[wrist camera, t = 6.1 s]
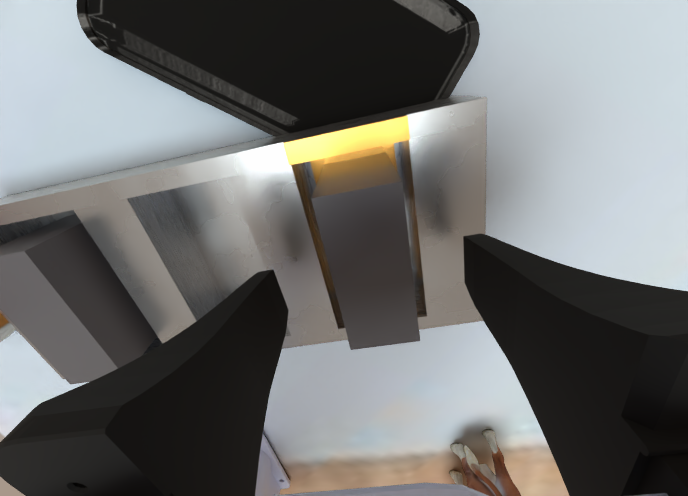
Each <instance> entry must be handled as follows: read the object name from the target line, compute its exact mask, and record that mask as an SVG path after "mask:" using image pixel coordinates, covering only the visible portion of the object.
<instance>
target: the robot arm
mask: <svg viewBox="0 0 688 496" xmlns="http://www.w3.org/2000/svg"><path fill="white" fill-rule="evenodd" d="M463 245H464V281H465V285H466V287H467V290H468V292H469V295H470V297H471V299H472V301H473V303H474V305H475V307H476V309H477V310H478V312H479V314H480V315H481V317H482V319H483V320H484V322H485V323H486V325H487V327H488V328H489V330H490V331H491V333H492V335H493V336H494V338H495V339H496V341H497V343H498V344H499V346H500V347H501V349H502V351H503V352H504V354H505V355H506V357H507V359H508V361H509V362H510V364H511V366H512V368H513V370H514V372H515V374H516V376H517V378H518V380H519V382H520V384H521V386H522V388H523V390H524V392H525V394H526V397H527V399H528V401H529V403H530V405H531V407H532V410H533V412H534V414H535V416H536V418H537V420H538V423H539V425H540V427H541V429H542V431H543V434H544V436H545V438H546V441H547V443H548V445H549V448H550V450H551V452H552V454H553V457H554V459H555V461H556V464H557V466H558V468H559V471H560V473H561V476H562V478H563V481H564V483H565V485H566V488H567V490H568V493H569V495H570V496H688V291H681V290H674V289H668V288H662V287H656V286H650V285H645V284H640V283H635V282H630V281H625V280H620V279H615V278H611V277H607V276H602V275H598V274H595V273H591V272H587V271H584V270H580V269H576V268H573V267H569V266H566V265H563V264H560V263H557V262H554V261H551V260H548V259H545V258H543V257H540V256H537V255H535V254H532V253H529V252H527V251H524V250H522V249H519V248H517V247H514V246H512V245H510V244H507V243H505V242H502V241H500V240H498V239H495V238H493V237H490V236H488V235H485V234H481V233H480V234H474V235H468V236H463ZM288 312H289V310H288V307H287V304H286V302H285V299H284V296H283V294H282V291H281V288H280V286H279V283H278V280H277V278H276V275H275V272H274V270H273V269H272V270H266V271H260V272H257V273H256V274H254V275H253V276H252V277H250V278H249V279H248V280H247V281H246V282H244V283H243V284H242V285H241V286H240V287H238V288H237V289H236V290H235V291H234V292H232V293H231V294H230V295H229V296H228V297H227V298H225V299H224V300H223V301H222V302H221V303H219V304H218V305H217V306H215V307H214V308H213V309H212V310H210V311H209V312H208V313H207V314H205V315H204V316H203V317H202V318H200V319H199V320H198V321H196V322H195V323H193V324H192V325H191V326H189V327H188V328H186V329H185V330H183V331H182V332H180V333H179V334H177V335H176V336H174V337H173V338H171V339H170V340H168V341H166V342H165V343H163V344H161V345H160V346H158V347H156V348H154V349H153V350H151V351H149V352H148V353H146V354H144V355H142V356H141V357H139V358H137V359H135V360H133V361H132V362H130V363H128V364H126V365H124V366H122V367H120V368H118V369H116V370H114V371H112V372H110V373H108V374H106V375H104V376H102V377H100V378H98V379H95V380H93V381H91V382H89V383H87V384H84V385H82V386H80V387H77V388H75V389H73V390H70V391H68V392H66V393H64V394H61V395H59V396H57V397H54V398H52V399H50V400H47V401H45V402H42V403H41V404H39V405H38V406H37V407H36V408H34V409H33V410H32V411H31V412H30V413H29V414H28V415H27V416H26V417H25V418H24V419H23V420H22V421H21V422H20V423H19V424H18V425H17V426H16V427H15V428H14V429H13V430H12V431H11V432H10V433H9V434H8V435H7V436H6V437H5V438H4V439H3V440H2V441H1V442H0V477H2V478H3V479H4V480H5V481H6V482H7V483H9V484H10V485H12V486H13V487H14V488H16V489H17V490H18V491H20V492H21V493H23V494H24V495H26V496H488V495H486V494H484V493H481V492H479V491H476V490H474V489H471V488H469V487H466V486H464V485H458V484H439V483H417V484H405V485H393V486H381V487H369V488H357V489H345V490H333V491H321V492H309V493H297V494H285V495H279V494H280V489H286V488H289V487H290V480H289V478H288V477H287V475H286V473H285V471H284V470H283V468H282V466H281V464H280V462H279V461H278V459H277V457H276V455H275V454H274V452H273V450H272V448H271V446H270V445H269V443H268V441H267V439H266V437H265V436H264V434H263V428H264V422H265V416H266V410H267V404H268V398H269V394H270V389H271V385H272V381H273V378H274V374H275V371H276V367H277V364H278V360H279V357H280V353H281V349H282V346H283V342H284V338H285V334H286V329H287V321H288Z"/></svg>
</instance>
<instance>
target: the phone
mask: <svg viewBox="0 0 688 496" xmlns="http://www.w3.org/2000/svg"><path fill="white" fill-rule="evenodd" d="M77 15H78V19H79V22H80V25H81V28H82V29H83V31H84V33H85V34H86V36H87V38H88V39H89V40H90V41H91V42H92V43H93V44H94V45H95V46H96V47H97V48H99V49H100V50H102V51H103V52H105V53H107V54H109V55H111V56H113V57H115V58H117V59H119V60H121V61H123V62H125V63H127V64H129V65H131V66H133V67H135V68H137V69H139V70H141V71H143V72H145V73H147V74H149V75H151V76H153V77H155V78H157V79H159V80H161V81H163V82H165V83H167V84H169V85H171V86H173V87H175V88H177V89H179V90H182V91H184V92H186V94H188V95H190V96H192V97H194V98H196V99H198V100H200V101H202V102H206V103H208V104H210V105H212V106H214V107H216V108H218V109H220V110H222V111H224V112H226V113H228V114H230V115H232V116H234V117H236V118H238V119H240V120H242V121H244V122H246V123H248V124H250V125H252V126H254V127H256V128H258V129H260V130H262V131H264V132H266V133H268V134H271V135H273V136H275V137H277V136H281V135H285V134H289V133H294V132H298V131H303V130H307V129H311V128H316V127H320V126H325V125H329V124H334V123H338V122H342V121H347V120H351V119H356V118H360V117H365V116H369V115H374V114H378V113H382V112H387V111H391V110H396V109H400V108H405V107H409V106H413V105H418V104H422V103H427V102H431V101H436V100H441V99H446V98H449V96H450V95H451V93H452V91H453V90H454V88H455V86H456V84H457V83H458V81H459V79H460V78H461V76H462V74H463V72H464V71H465V69H466V67H467V66H468V64H469V62H470V60H471V59H472V57H473V55H474V53H475V51H476V48H477V46H478V41H479V35H480V33H479V24H478V21H477V19H476V17H475V15H474V13H473V12H472V11H471V10H470V9H469V8H467V7H466V6H464V5H463V4H461V3H460V2H459V1H457V0H77Z"/></svg>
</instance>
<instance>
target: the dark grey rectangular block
mask: <svg viewBox="0 0 688 496" xmlns="http://www.w3.org/2000/svg"><path fill="white" fill-rule="evenodd" d="M0 310H1V311H2V312H3V313H4V314H5V315H6V316H7V318H8V319H9V320H10V321H11V322H12V323H13V324H14V325H15V326H16V327H17V328H18V329H19V330H20V331H21V332H22V333H23V335H24V336H25V337H26V338H27V339H28V340H29V341H30V342H31V343H32V344H33V345H34V346H35V347H36V348H37V349H38V350H39V352H40V353H41V354H42V355H43V356H44V357H45V358H46V359H47V360H48V361H49V362H50V363H51V364H52V365H53V366H54V367H55V368H56V370H57V371H58V372H59V373H60V374H61V375H62V376H63V377H64V378H65V379H66V380H67V381H68V382H69V383H70V384H76V383H84V382H91V381H93V380H95V379H98V378H100V377H102V376H104V375H106V374H108V373H110V372H112V371H114V370H116V369H118V368H120V367H122V366H124V365H126V364H128V363H130V362H132V361H133V360H135V359H137V358H139V357H141V356H142V355H143V353H144V352H145V351H146V350H147V348H148V347H149V346H150V345H151V343H152V342H153V341H154V339H155V338H156V337H157V335H156V333H155V332H154V330H153V329H152V327H151V326H150V324H149V323H148V321H147V320H146V318H145V317H144V315H143V314H142V312H141V311H140V309H139V308H138V306H137V305H136V303H135V302H134V300H133V299H132V297H131V296H130V294H129V293H128V291H127V290H126V288H125V287H124V285H123V284H122V282H121V281H120V279H119V278H118V276H117V275H116V273H115V272H114V270H113V269H112V267H111V266H110V264H109V263H108V261H107V260H106V258H105V257H104V255H103V254H102V252H101V251H100V249H99V248H98V246H97V245H96V243H95V242H94V240H93V239H92V237H91V236H90V234H89V233H88V231H87V230H86V228H85V227H84V225H83V224H82V222H81V221H80V219H79V218H78V216H77V215H76V214H74V215H70V216H66V217H64V218H61V219H59V220H57V221H55V222H52V223H50V224H48V225H46V226H43V227H41V228H39V229H37V230H34V231H32V232H30V233H28V234H25V235H23V236H21V237H18V238H16V239H14V240H12V241H9V242H7V243H5V244H3V245H0Z"/></svg>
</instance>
